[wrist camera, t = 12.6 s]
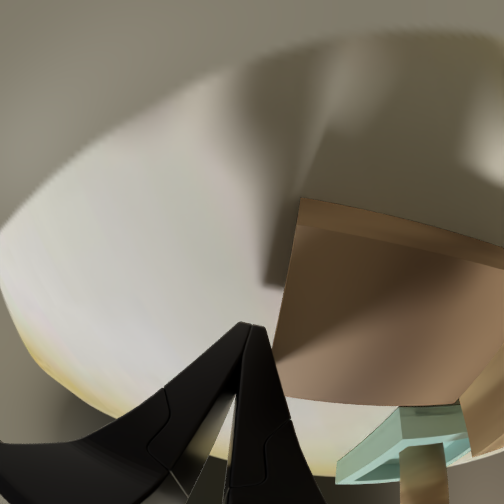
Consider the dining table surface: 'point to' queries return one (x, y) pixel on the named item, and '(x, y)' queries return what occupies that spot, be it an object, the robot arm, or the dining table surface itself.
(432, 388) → the walnut board
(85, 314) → the dining table surface
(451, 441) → the tray
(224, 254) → the dining table surface
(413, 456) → the oak dowel
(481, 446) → the block
